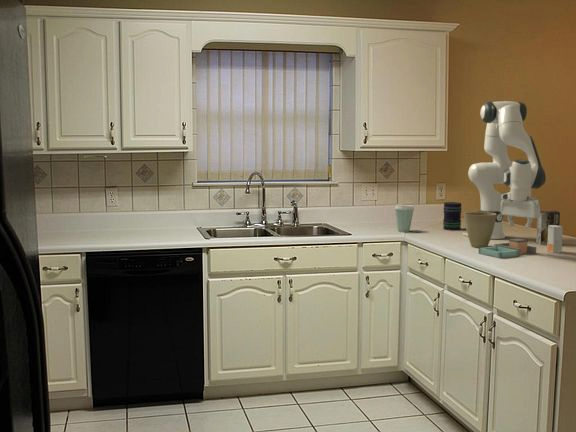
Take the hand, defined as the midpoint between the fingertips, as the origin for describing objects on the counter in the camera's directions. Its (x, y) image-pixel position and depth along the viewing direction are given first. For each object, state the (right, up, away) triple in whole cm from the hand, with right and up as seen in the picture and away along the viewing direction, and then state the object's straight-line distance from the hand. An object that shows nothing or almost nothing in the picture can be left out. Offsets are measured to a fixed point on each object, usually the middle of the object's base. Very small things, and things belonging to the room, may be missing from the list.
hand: (519, 226), depth 301 cm
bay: (-1, -12, +3) cm, 12 cm away
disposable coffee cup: (-40, -4, +70) cm, 80 cm away
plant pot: (-13, -10, +19) cm, 25 cm away
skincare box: (+17, -12, +4) cm, 21 cm away
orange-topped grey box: (0, -12, +2) cm, 12 cm away
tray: (-11, -12, -4) cm, 17 cm away
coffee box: (+23, -9, +27) cm, 37 cm away
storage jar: (-11, -3, +78) cm, 79 cm away
